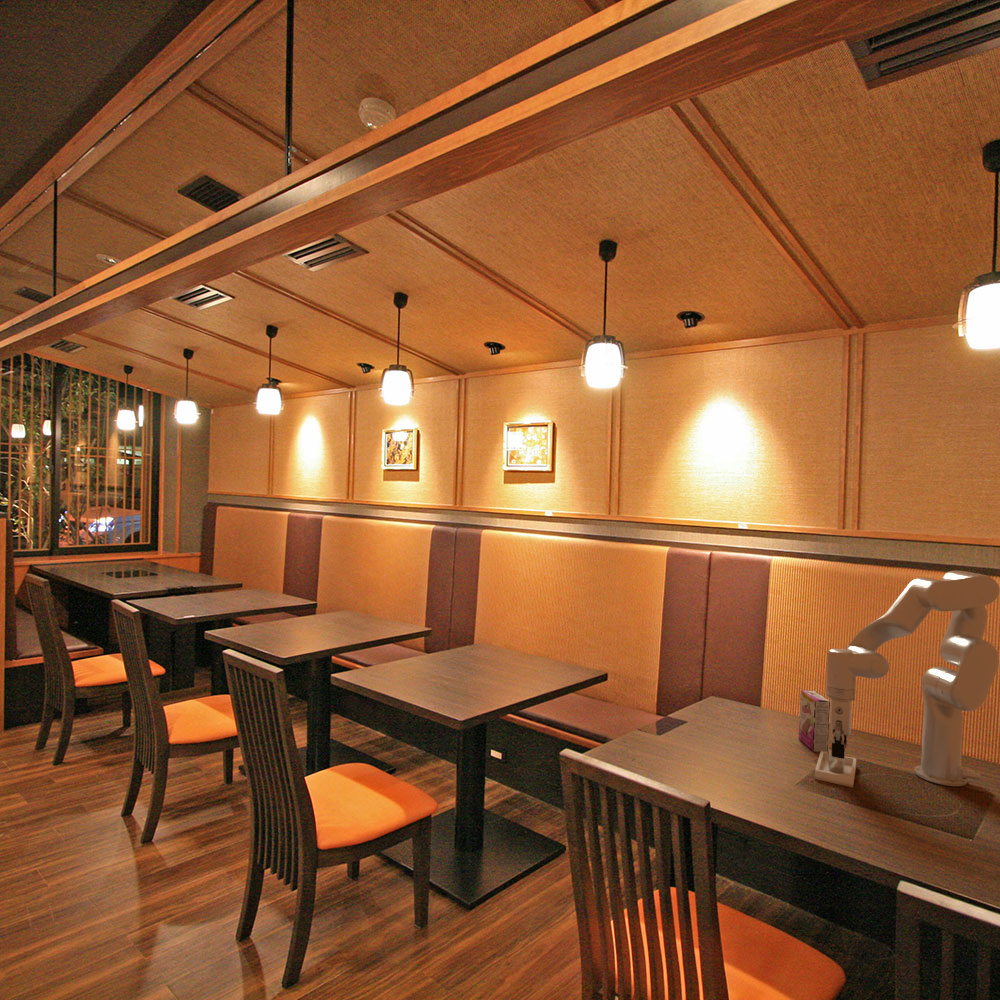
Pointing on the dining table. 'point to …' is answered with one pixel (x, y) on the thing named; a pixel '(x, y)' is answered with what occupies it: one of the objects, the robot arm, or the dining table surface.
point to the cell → (835, 762)
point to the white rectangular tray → (832, 777)
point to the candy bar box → (814, 720)
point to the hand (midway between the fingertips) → (839, 751)
